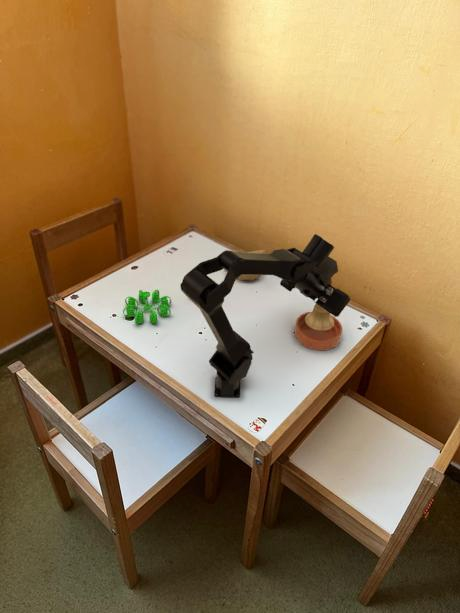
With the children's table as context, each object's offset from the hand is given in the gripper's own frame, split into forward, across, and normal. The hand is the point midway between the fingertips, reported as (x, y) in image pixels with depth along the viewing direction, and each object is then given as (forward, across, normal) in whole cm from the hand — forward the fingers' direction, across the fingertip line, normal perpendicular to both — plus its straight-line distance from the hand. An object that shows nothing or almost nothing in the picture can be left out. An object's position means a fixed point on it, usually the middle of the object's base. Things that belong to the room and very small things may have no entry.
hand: (327, 298), depth 129 cm
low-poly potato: (+10, +36, +8) cm, 38 cm away
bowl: (+8, 0, +10) cm, 13 cm away
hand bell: (+4, 0, +6) cm, 8 cm away
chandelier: (-15, +38, +34) cm, 53 cm away
